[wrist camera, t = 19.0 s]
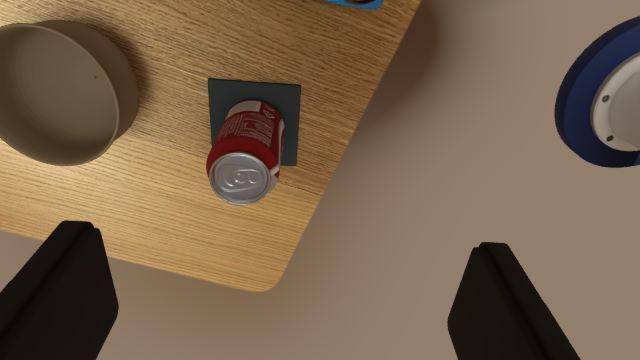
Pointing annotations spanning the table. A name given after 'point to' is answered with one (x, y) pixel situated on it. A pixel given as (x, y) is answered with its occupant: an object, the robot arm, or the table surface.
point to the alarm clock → (359, 3)
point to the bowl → (63, 91)
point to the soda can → (247, 153)
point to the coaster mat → (275, 94)
